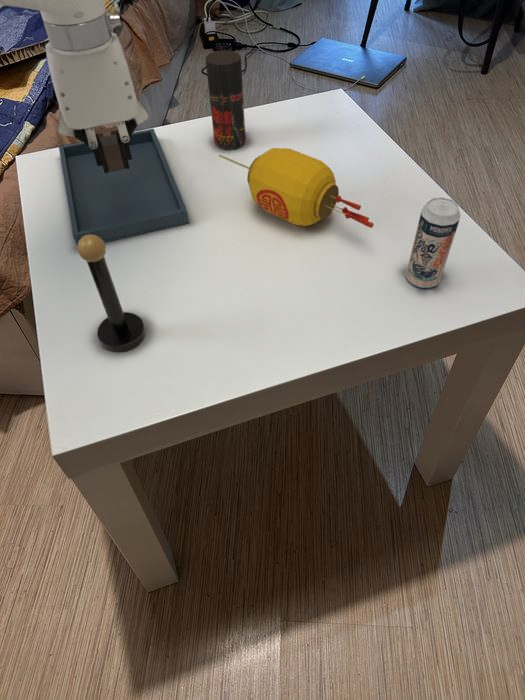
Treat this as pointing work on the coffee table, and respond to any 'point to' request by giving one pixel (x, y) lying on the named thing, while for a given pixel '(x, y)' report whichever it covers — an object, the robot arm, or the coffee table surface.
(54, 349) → the coffee table surface
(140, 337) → the black post with ball
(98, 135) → the brown ring with handle
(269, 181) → the lantern
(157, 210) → the tray
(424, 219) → the beer can
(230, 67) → the deodorant
